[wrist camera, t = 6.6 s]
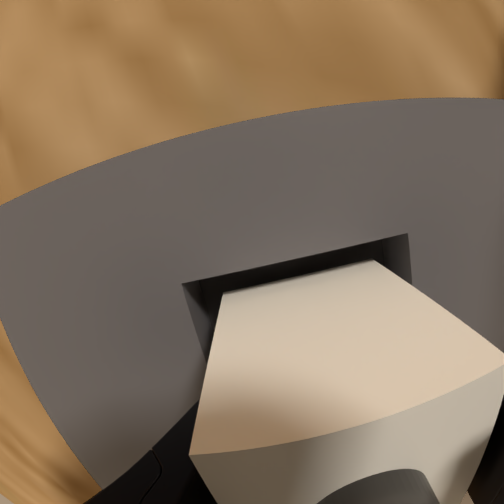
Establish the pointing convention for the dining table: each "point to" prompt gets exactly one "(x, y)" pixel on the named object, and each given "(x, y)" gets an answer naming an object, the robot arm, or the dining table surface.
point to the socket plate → (238, 249)
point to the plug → (343, 394)
